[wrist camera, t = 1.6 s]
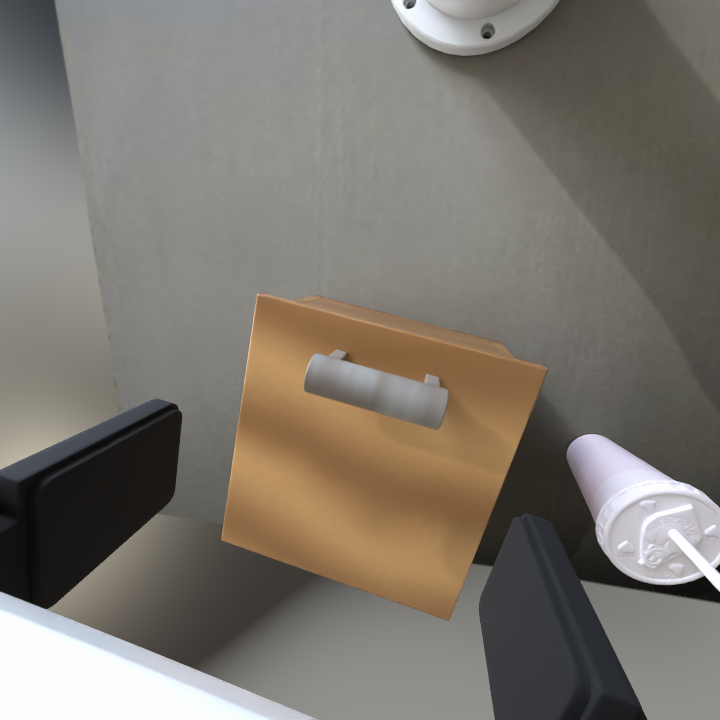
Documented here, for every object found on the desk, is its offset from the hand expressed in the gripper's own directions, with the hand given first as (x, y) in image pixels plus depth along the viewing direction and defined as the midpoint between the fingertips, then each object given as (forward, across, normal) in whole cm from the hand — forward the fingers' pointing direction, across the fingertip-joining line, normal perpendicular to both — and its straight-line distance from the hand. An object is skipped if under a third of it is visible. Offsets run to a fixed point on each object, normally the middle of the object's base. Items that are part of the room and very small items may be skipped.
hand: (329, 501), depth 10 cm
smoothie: (+22, -18, +5) cm, 28 cm away
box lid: (+11, 0, +5) cm, 12 cm away
